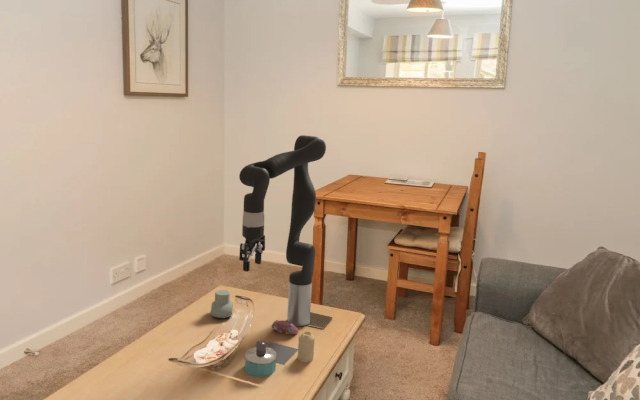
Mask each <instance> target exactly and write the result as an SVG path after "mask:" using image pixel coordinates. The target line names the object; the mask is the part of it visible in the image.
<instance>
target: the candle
mask: <svg viewBox="0 0 640 400" xmlns="http://www.w3.org/2000/svg"><path fill="white" fill-rule="evenodd" d="M297 346H298V347H297V349H298V351H297V359H298V361H299V362H302V363H310V362H312V361H313V360H314V354H315V336H314V334H312V333H311V332H310V331H304V332H302V333H301V334H300V335H299V336H298V345H297Z"/></svg>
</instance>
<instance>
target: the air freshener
mask: <svg viewBox="0 0 640 400" xmlns="http://www.w3.org/2000/svg"><path fill="white" fill-rule="evenodd" d="M230 294H231V293H230V291H229V290H227V289H226V290H225V289H220V290H216V292H215V293H214V301H212V302H211V306H210V315H211V316H213V317H214V318H217V319H226V318H229V317H231V316H232V315H233V311H234V310H233V307H234V303H233V302H232V301H231V299H230Z"/></svg>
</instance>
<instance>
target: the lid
mask: <svg viewBox="0 0 640 400" xmlns="http://www.w3.org/2000/svg"><path fill="white" fill-rule="evenodd" d="M266 344H267V342H266V341H265V340H257V342H256V346H254V347H251V348H249V349H247V350H246V352H245V354H244V358H246V360H247V361H248V362H250V363H253V364H260V365H262V364H268V363H271V362H273V361H274V360H275V359H276V357H277V353H276V351H275V350H273V349H271V348H268V347H266Z"/></svg>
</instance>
